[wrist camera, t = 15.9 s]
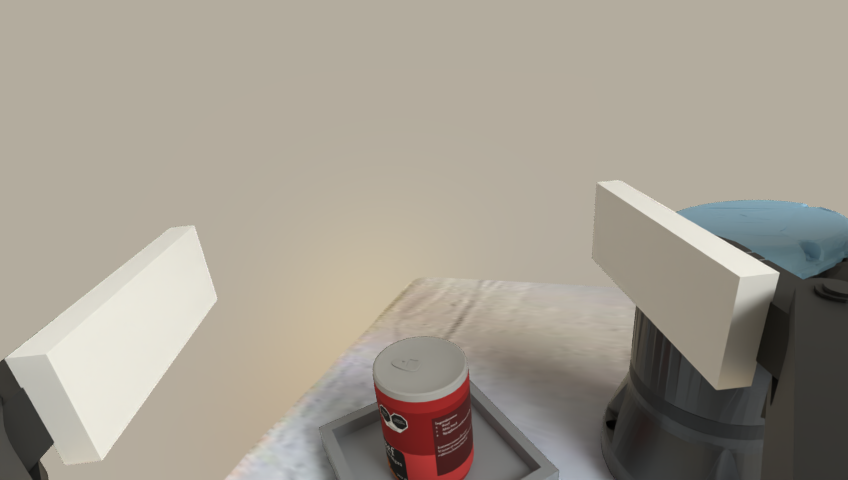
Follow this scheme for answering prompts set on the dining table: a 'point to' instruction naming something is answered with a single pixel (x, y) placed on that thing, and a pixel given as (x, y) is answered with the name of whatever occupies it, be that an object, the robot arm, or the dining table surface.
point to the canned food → (425, 409)
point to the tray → (492, 438)
